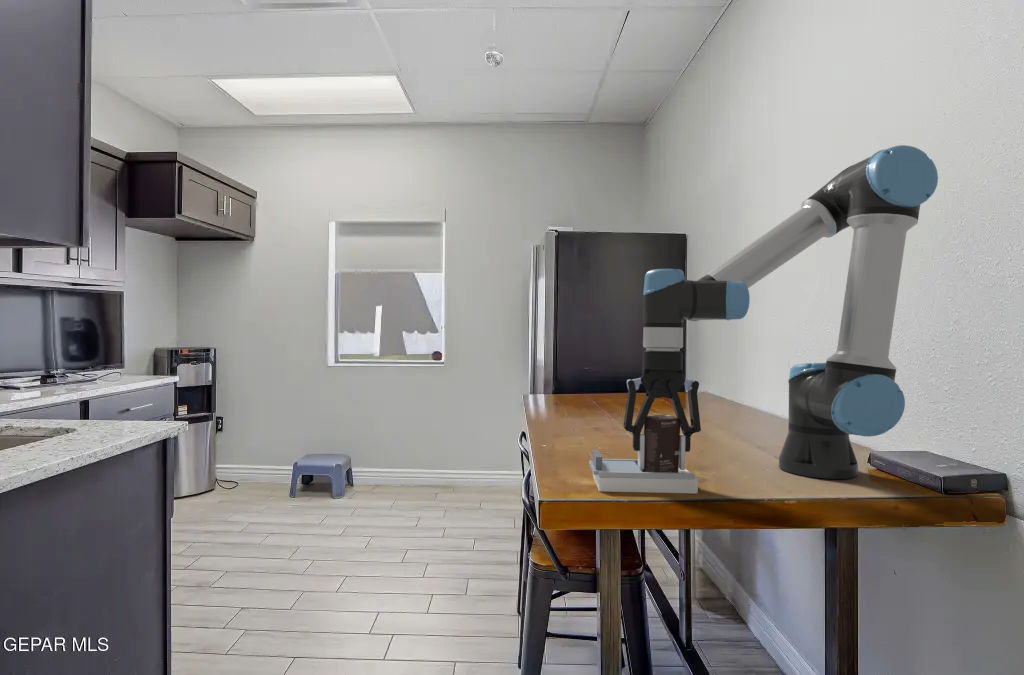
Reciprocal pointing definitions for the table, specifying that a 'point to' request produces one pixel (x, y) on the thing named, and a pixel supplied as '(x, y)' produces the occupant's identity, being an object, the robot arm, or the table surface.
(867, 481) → the table surface
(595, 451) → the panel
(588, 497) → the table surface
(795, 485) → the table surface
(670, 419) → the box
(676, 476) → the socket plate
